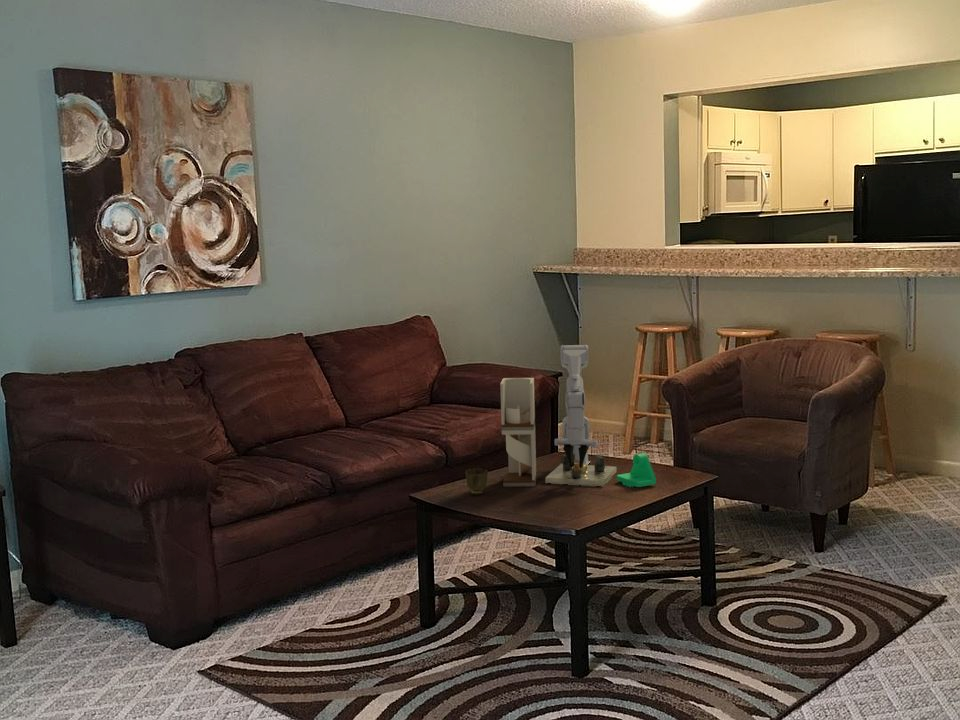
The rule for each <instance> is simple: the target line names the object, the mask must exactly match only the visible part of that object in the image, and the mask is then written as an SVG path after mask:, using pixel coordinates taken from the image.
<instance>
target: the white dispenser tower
mask: <svg viewBox="0 0 960 720" xmlns="http://www.w3.org/2000/svg"><path fill="white" fill-rule="evenodd" d="M499 385H500V386H499V387H500V412H501V413H500V417H501V419H500V421H501V422H500V423H501V436H502V435H503V436H504V435H505V446H506V447H505V450H506V453H507V454H508V455H507V458H508V459H507V460H508V462H507V463H508V471H505V473H504V477H503V481H502V484H503V485H502V487H536V482H537V454H536V453H537V450H536V449H537V448H536V447H537V446H536V444H537V443H536V408H535V407H536V406H535V405H536V404H535V377H504V378H502V380H501V381H500V383H499Z"/></svg>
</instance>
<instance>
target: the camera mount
mask: <svg viewBox="0 0 960 720" xmlns="http://www.w3.org/2000/svg"><path fill="white" fill-rule="evenodd" d="M632 463H633V465H632V468H631V470H630V472H628V473H622V474H617V475H616V481H618V482H621V485H622V484H623V485H622V486H625V485H626V486H625V487H628V486H629V487H628V488H630V487H632V488H636V487H637V488H642V487H647V486H651V485H656V484H657V478H656V475H655V473H654V472H655V471H654V469H653V466H652V464H651V462H650V459H649V457H648V455H647V453H645V452H642V453H637V454H634V455H633V456H632ZM634 486H635V487H634Z"/></svg>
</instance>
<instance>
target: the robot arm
mask: <svg viewBox="0 0 960 720" xmlns="http://www.w3.org/2000/svg"><path fill="white" fill-rule="evenodd" d="M560 365H561V367H562V368H564V369H567V373H568V377H567V378H566V394H564V395H565V408H566V416H565V417H564V418H562V423H561V424H562V425H561V437H562V438H555V439H554V446H563V451H564V453H565V455H567V457H568V460H569V464H570V467H573V466H574V460H573V454H575V460H578V461H579V467H580V468H582V467H583V464H587V465H588V464H589V463H590V462H591V463H592V461H591V460H589V449H590V447H591V448H597V447H598V446H599V440H594V439H591V437H590V436H591V435H590V431H591V430H590V420H589V418H588V417H586V416H585V408H586V394H585V389H584V379H583V376H581V373H582V371H583V369H584V368H587V367H588V365H589V345H587V344H574V345H573V344H572V345H571V344H570V345H569V344H567V345H565V344H562V345H560ZM591 463H590V464H591ZM590 464H589V465H590Z"/></svg>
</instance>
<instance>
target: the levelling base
mask: <svg viewBox="0 0 960 720" xmlns="http://www.w3.org/2000/svg"><path fill="white" fill-rule="evenodd" d="M573 460H575V454H573ZM594 462H595V463H593V464H594V465H593V464H591V465H590V464H589V465H587V464H583V467H582V468H581V469H582V477H580V478H573V477H571V469H572V468H574V466H573V467H570V464H569V460H568V457H567V455H566V454H564V455H560V464H559V465H558V466H557V467H556V468H555V469H554V470H552V471H550V473H548V475H546V476H545V478H544V479H545V480H544V481H545V482H544V483H545V484H547V483H551V484H550V485H563V484H568V486H579V485H581V486H582V487H596V486H601V488H604V487H605V486H606V485H607V484H608V482H609V481H611V480H612V478H613V477H614V476H615V475H614V474H615V473H616V474H617V472H618V471H617V468H618V467H617V466H611V465H606V463H605V457H603V456H602V455H600V454H595V456H594ZM579 468H580V467H579ZM613 475H614V476H613ZM612 476H613V477H612ZM606 483H607V484H606ZM605 484H606V485H605ZM604 485H605V486H604Z"/></svg>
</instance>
